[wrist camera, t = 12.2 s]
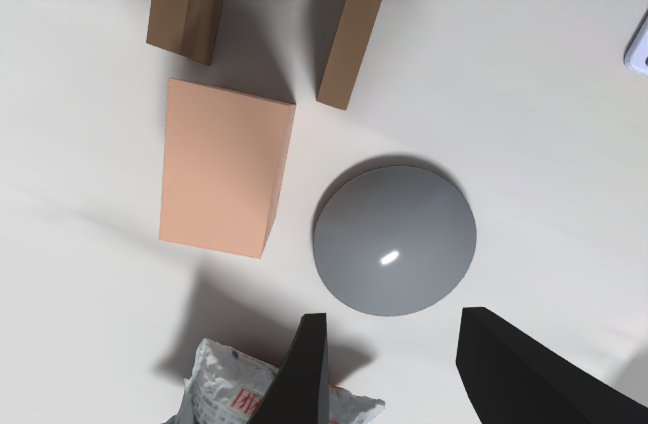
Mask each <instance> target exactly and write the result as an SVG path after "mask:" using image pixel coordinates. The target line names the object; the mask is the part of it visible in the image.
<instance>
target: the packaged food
mask: <svg viewBox="0 0 648 424" xmlns="http://www.w3.org/2000/svg"><path fill="white" fill-rule="evenodd" d="M279 368H280V367H278V366H276V365H273V364H270V363H267V362H263V361H260V360H257V359H255V358H253V357H251V356H249V355H246V354H244V353H242V352H240V351H238V350H236V349H234V348H232V347H230V346H226V345H221V344H220V343H219V342H214V341H212V340H210V339H209V338H204V339H203V340H202V341H201V343H200V345H199V346H198V348H197V351H196V358H195V364H194V367H193V370H192V377H191V378H190V380H188V379H186V378H184V386H185V390H184V396H183V400H182V403H181V407H180V409H179V412H178V414H177V415H174V416H173V417H171V418H170V419H169V420H168V421H167V422H165V423H162V424H246V423H247V421H248V420H249V418H250V417H251V415H252V414H253V412H254V411H255V409H256V408H257V406H258V405H259V403H260V401H261V400H262V398H263V396H264V395H265V393H266V391H267V390H268V388H269V386H270V384H271V383H272V381H273V379H274V378H275V376H276V374H277V372H278V370H279ZM329 403H330V407H329V424H367V423H368V422H369V421H371V420H372V419H373V418H374V417H376V416H377V415H378V414H379V413H381V412H382V411H383V410H384V409H385V404H386V403H385V402H384V401H383V400H381V399H378V400H376V399H372V398H369V397H366V396H361V397H360V396H355V395H352V393H350V391H348V390H346V389H344V388H341V387H336V386H333V385H330V384H329Z"/></svg>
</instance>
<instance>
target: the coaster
mask: <svg viewBox="0 0 648 424" xmlns="http://www.w3.org/2000/svg"><path fill="white" fill-rule="evenodd" d="M475 247H476V225H475V220H474V216H473V213H472V211H471V209H470V206H469V204H468V203H467V201H466V200H465V198H464V197H463V195H462V194H461V193H460V192H459V191H458V190H457V189H456V188H455V187H454V186H453V185H452V184H450V183H449V182H448V181H446V180H445V179H443V178H441V177H440V176H438V175H436V174H435V173H432V172H430V171H427V170H425V169H421V168H417V167H413V166H404V165H394V166H385V167H379V168H376V169H372V170H369V171H367V172H364V173H362V174H360V175H358V176H356V177H354V178H353V179H351V180H349V181H348V182H347V183H345V184H344V185H343V186H341V187H340V188H339V189H338V190H337V191H336V192H335V193H334V194H333V195H332V196H331V198H330V199H329V200H328V202H327V203H326V204H325V206H324V208H323V210H322V211H321V213H320V216H319V218H318V221H317V224H316V228H315V232H314V242H313V249H314V260H315V265H316V268H317V271H318V274H319V276H320V278H321V280H322V282H323V283H324V285H325V286H326V287H327V289H328V290H329V291H330V292H331V293H332V294H333V295H334V296H335V297H336V298H337V299H338V300H339V301H341V302H342V303H344V304H345V305H347V306H348V307H350V308H353V309H355V310H357V311H360V312H363V313H366V314H370V315H375V316H401V315H407V314H411V313H415V312H418V311H420V310H423V309H425V308H427V307H430V306H432V305H434V304H435V303H437V302H438V301H440V300H441V299H443V298H444V297H445V296H446V295H448V294H449V293H450V292H451V291H452V290H453V289H454V288H455V287H456V286H457V285H458V284H459V282H460V281H461V280H462V278H463V277H464V275H465V274H466V272H467V270H468V269H469V266H470V264H471V262H472V259H473V256H474V252H475Z"/></svg>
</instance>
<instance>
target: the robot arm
mask: <svg viewBox="0 0 648 424" xmlns="http://www.w3.org/2000/svg"><path fill="white" fill-rule="evenodd" d="M647 57H648V16H647V18H646V20H645V22H644V23H643V25H642V27H641V29H640V31H639V32H638V34H637V36H636V38H635V39H634V41H633V43H632V45H631V47H630V48H629V50H628V52H627V54H626V56H625V59H624V63H625V66H626V67H627V68H629V69H631V70H633V71H636V72H638V73H641V74H643V75H646V76H648V63H647V64H645V60H646V58H647ZM456 366H457V369H458V371H459V374H460V377H461V379H462V382H463V385H464V387H465V390H466V392H467V395H468V397H469V399H470V401H471V403H472V405H473V407H474V409H475V411H476V413H477V415H478V417H479V419H480V421H481V423H482V424H648V408H647V407H645V406H643V405H641V404H639V403H638V402H636V401H634V400H632V399H631V398H629V397H627V396H625V395H623V394H622V393H620V392H618V391H616V390H615V389H613V388H611V387H610V386H608V385H606V384H605V383H603V382H601V381H600V380H598V379H596V378H595V377H593V376H591V375H590V374H588V373H586V372H585V371H583V370H581V369H580V368H578V367H576V366H575V365H573V364H572V363H570V362H568V361H567V360H565V359H564V358H562V357H561V356H559V355H557V354H556V353H554V352H553V351H551V350H550V349H548V348H547V347H545V346H543V345H542V344H540V343H539V342H537V341H536V340H534V339H533V338H531V337H530V336H528V335H527V334H525V333H524V332H522V331H521V330H519V329H518V328H516V327H515V326H513V325H512V324H510V323H509V322H507V321H506V320H504V319H503V318H501V317H500V316H498V315H496V314H495V313H493V312H492V311H490V310H488V309H487V308H485V307H467V308H463V310H462V318H461V325H460V333H459V340H458V348H457V356H456ZM329 407H330V403H329V376H328V349H327V323H326V313H315V314H305V315H304V316H302V318H301V321H300V324H299V327H298V330H297V333H296V335H295V337H294V340H293V342H292V344H291V346H290V349H289V351H288V353H287V355H286V357H285V359H284V361H283V363H282V365H281V366H280V368H279V370H278V372H277V374H276V376H275V378H274V379H273V381H272V383H271V384H270V386H269V388H268V390H267V391H266V393H265V395H264V396H263V398H262V400H261V401H260V403H259V405H258V406H257V408H256V409H255V411H254V412H253V414H252V415H251V417H250V418H249V420H248V421H247V423H246V424H329Z"/></svg>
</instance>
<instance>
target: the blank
mask: <svg viewBox="0 0 648 424" xmlns="http://www.w3.org/2000/svg"><path fill="white" fill-rule="evenodd" d="M295 110H296V105H295V104H290V103H286V102H282V101H278V100H273V99H269V98H265V97H261V96H256V95H252V94H248V93H244V92H239V91H235V90H231V89H227V88H222V87H218V86H214V85H208V84H202V83H196V82H190V81H184V80H178V79H172V78H169V79H168V96H167V113H166V130H165V146H164V163H163V180H162V197H161V213H160V230H159V240H162V241H167V242H173V243H178V244H183V245H189V246H194V247H199V248H205V249H210V250H215V251H221V252H226V253H231V254H237V255H242V256H247V257H253V258H258V259H261V256H262V253H263V250H264V248H265V245H266V242H267V239H268V237H269V234H270V231H271V228H272V226H273V223H274V220H275V217H276V212H277V207H278V201H279V196H280V190H281V185H282V180H283V174H284V169H285V164H286V158H287V153H288V147H289V142H290V137H291V131H292V126H293V120H294V115H295Z"/></svg>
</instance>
